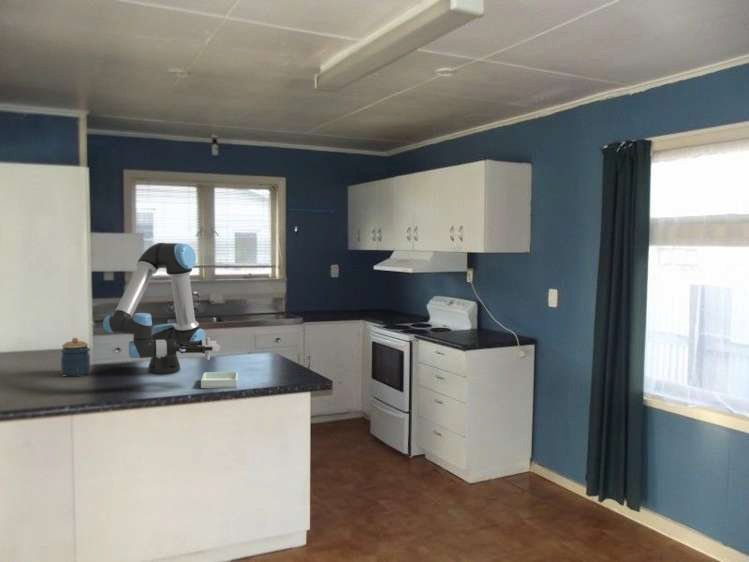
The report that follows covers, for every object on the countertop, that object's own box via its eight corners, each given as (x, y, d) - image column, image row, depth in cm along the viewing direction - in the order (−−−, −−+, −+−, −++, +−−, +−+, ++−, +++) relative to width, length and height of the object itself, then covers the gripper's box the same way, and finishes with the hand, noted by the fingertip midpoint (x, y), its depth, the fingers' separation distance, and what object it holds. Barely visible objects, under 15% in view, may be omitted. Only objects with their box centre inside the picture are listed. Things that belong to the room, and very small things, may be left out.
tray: (200, 388, 286) (200, 380, 286) (204, 380, 301) (204, 372, 301) (236, 388, 289) (236, 379, 288) (238, 379, 304) (238, 371, 304)
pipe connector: (210, 362, 284) (210, 340, 284) (191, 360, 288) (191, 338, 287) (223, 358, 294) (223, 336, 293) (204, 356, 297) (204, 335, 296)
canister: (54, 375, 303) (53, 338, 302) (75, 369, 315) (75, 334, 314) (75, 378, 299) (75, 341, 297) (96, 372, 311) (96, 336, 309)
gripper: (164, 351, 294) (214, 349, 302) (167, 361, 274) (221, 358, 282) (164, 335, 293) (214, 333, 302) (167, 344, 273) (221, 341, 282)
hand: (218, 345), depth 292 cm, fingers closed on pipe connector, 9 cm apart
